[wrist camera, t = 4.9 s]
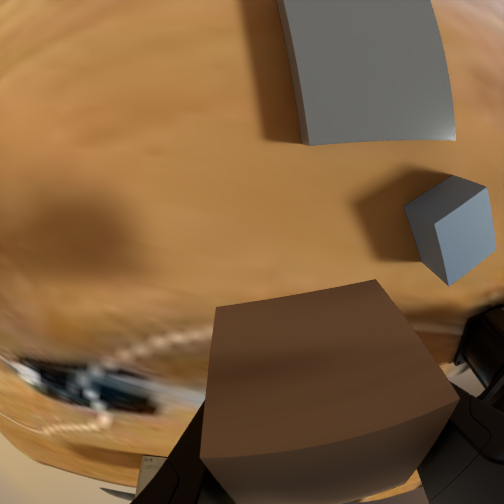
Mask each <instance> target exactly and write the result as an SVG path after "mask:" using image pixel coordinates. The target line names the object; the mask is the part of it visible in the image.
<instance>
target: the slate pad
mask: <svg viewBox="0 0 504 504" xmlns="http://www.w3.org/2000/svg"><path fill="white" fill-rule="evenodd" d="M276 2H277V6H278V10H279V15H280V19H281V24H282V29H283V34H284V39H285V44H286V49H287V54H288V59H289V65H290V70H291V76H292V81H293V87H294V93H295V99H296V106H297V112H298V119H299V126H300V133H301V140H302V144H303V145H308V146H314V145H325V144H336V143H349V142H365V141H387V140H456V133H455V120H454V110H453V101H452V93H451V86H450V80H449V74H448V68H447V63H446V58H445V53H444V49H443V44H442V40H441V36H440V32H439V28H438V25H437V21H436V18H435V14H434V11H433V8H432V5H431V1H430V0H276Z"/></svg>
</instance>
